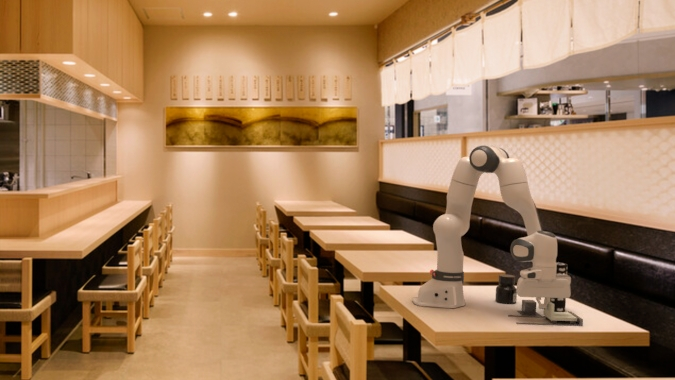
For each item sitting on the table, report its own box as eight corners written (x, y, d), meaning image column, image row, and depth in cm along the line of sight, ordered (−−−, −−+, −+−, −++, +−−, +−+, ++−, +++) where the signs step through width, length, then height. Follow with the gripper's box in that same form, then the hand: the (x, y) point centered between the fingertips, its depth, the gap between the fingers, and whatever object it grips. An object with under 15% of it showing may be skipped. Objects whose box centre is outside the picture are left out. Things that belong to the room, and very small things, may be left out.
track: (516, 325, 244) (517, 317, 244) (507, 316, 256) (508, 309, 256) (582, 327, 244) (583, 319, 244) (570, 318, 256) (570, 311, 256)
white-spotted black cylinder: (562, 314, 264) (565, 266, 263) (541, 311, 268) (544, 263, 267) (567, 310, 271) (569, 263, 270) (546, 307, 275) (549, 261, 274)
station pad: (521, 316, 258) (521, 315, 258) (516, 311, 266) (516, 310, 266) (541, 316, 258) (541, 315, 258) (535, 312, 266) (535, 311, 266)
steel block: (524, 314, 260) (525, 302, 260) (521, 311, 264) (522, 299, 264) (535, 314, 260) (536, 302, 260) (532, 312, 264) (533, 300, 264)
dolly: (550, 324, 246) (551, 304, 245) (543, 318, 255) (544, 299, 254) (577, 325, 246) (578, 305, 245) (568, 319, 255) (569, 299, 254)
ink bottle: (519, 305, 278) (521, 278, 277) (499, 305, 277) (501, 277, 276) (511, 300, 287) (512, 273, 287) (492, 300, 286) (493, 273, 286)
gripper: (568, 272, 252) (566, 307, 253) (516, 271, 252) (514, 306, 253) (574, 275, 246) (572, 311, 247) (520, 273, 246) (519, 309, 247)
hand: (542, 308), depth 250 cm, fingers closed
